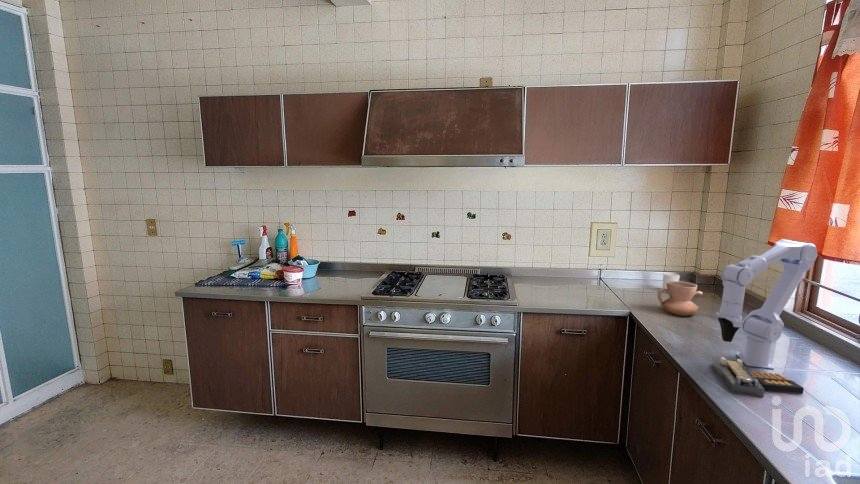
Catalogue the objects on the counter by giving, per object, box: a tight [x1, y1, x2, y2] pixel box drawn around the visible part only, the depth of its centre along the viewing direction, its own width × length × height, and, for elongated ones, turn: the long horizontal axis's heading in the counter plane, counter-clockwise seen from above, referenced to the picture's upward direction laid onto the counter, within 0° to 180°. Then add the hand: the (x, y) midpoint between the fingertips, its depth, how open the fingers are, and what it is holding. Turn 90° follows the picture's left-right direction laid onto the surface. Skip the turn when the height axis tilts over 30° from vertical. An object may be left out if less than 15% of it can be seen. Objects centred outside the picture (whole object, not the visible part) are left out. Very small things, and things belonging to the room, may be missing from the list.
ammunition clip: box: [750, 370, 805, 395], centre depth 133 cm, size 11×2×12 cm
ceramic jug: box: [657, 280, 703, 317], centre depth 197 cm, size 18×14×14 cm
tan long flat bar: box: [726, 359, 753, 384], centre depth 133 cm, size 15×3×1 cm, turn 162°
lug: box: [719, 356, 744, 367], centre depth 139 cm, size 2×6×2 cm, turn 72°
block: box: [711, 357, 766, 398], centre depth 134 cm, size 19×8×4 cm, turn 161°
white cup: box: [662, 272, 681, 289], centre depth 232 cm, size 8×8×10 cm
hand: (726, 340), depth 142 cm, fingers closed
